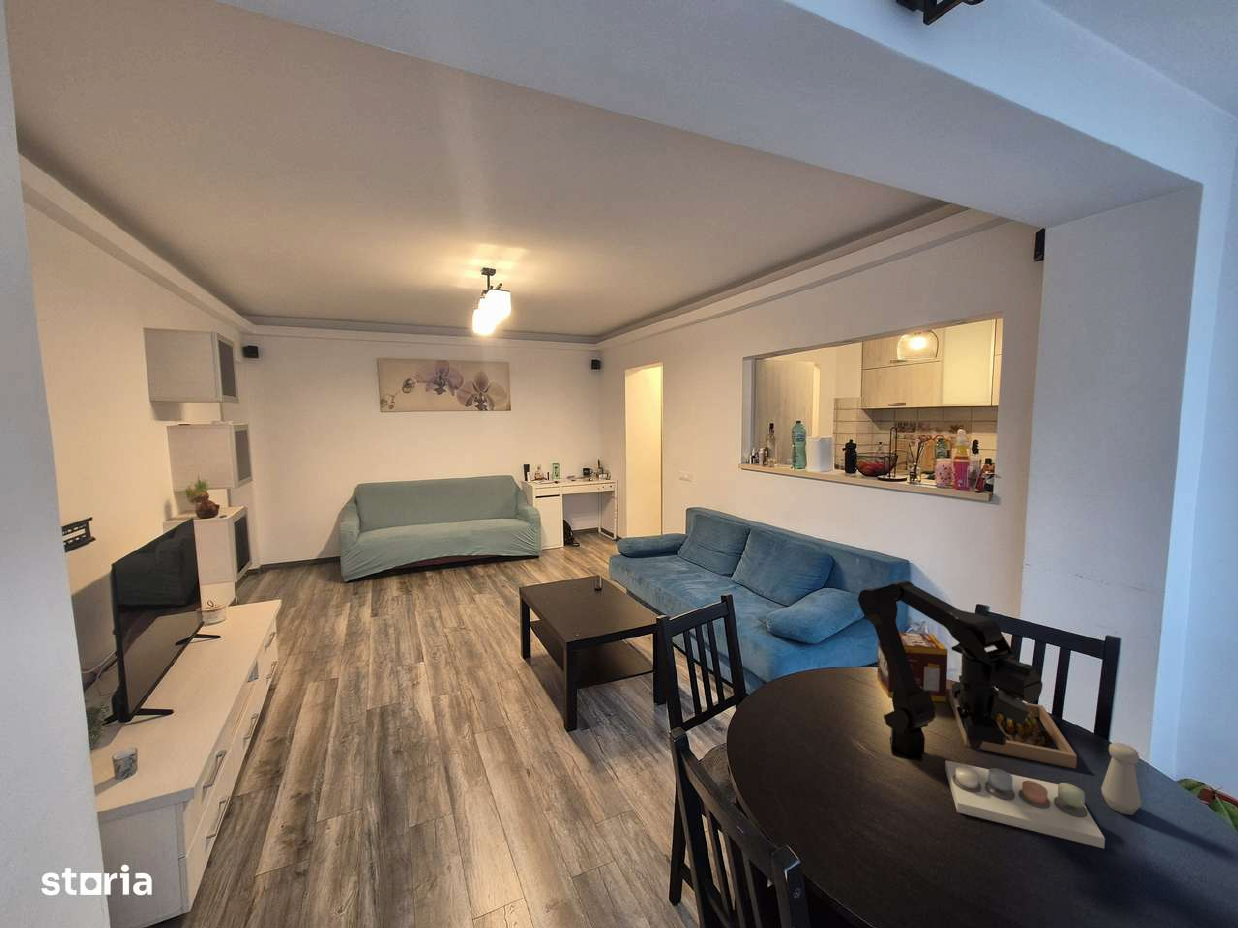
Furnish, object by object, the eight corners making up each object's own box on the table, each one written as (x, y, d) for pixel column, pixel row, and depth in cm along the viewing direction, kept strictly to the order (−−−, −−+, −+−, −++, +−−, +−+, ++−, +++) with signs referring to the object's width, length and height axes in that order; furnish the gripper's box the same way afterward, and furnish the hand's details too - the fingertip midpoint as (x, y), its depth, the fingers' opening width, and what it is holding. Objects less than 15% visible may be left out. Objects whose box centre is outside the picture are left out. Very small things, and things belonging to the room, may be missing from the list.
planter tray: (965, 746, 124) (966, 734, 123) (949, 699, 144) (949, 689, 144) (1076, 768, 115) (1076, 755, 115) (1041, 716, 135) (1042, 705, 135)
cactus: (1063, 735, 127) (1065, 698, 127) (1035, 758, 119) (1038, 719, 118) (986, 703, 142) (987, 670, 141) (956, 721, 134) (957, 686, 133)
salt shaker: (1148, 820, 100) (1153, 758, 99) (1114, 816, 102) (1118, 754, 100) (1125, 798, 106) (1129, 739, 105) (1093, 794, 107) (1097, 736, 106)
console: (957, 811, 103) (957, 800, 103) (945, 768, 116) (945, 758, 116) (1104, 848, 94) (1104, 836, 94) (1073, 796, 107) (1074, 785, 107)
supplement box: (876, 678, 156) (877, 629, 155) (931, 683, 153) (933, 633, 152) (887, 697, 146) (888, 644, 145) (946, 702, 143) (948, 648, 141)
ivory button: (957, 785, 107) (957, 776, 107) (953, 772, 111) (954, 764, 111) (980, 790, 106) (980, 781, 106) (975, 777, 109) (976, 769, 109)
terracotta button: (1025, 800, 103) (1025, 791, 103) (1019, 787, 106) (1019, 778, 106) (1050, 806, 101) (1050, 797, 101) (1043, 792, 105) (1043, 783, 105)
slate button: (990, 787, 105) (991, 778, 105) (986, 774, 109) (986, 766, 108) (1014, 792, 103) (1015, 783, 103) (1008, 779, 107) (1009, 770, 107)
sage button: (1061, 803, 100) (1062, 793, 100) (1054, 789, 104) (1054, 780, 104) (1088, 809, 99) (1088, 799, 98) (1079, 795, 102) (1080, 786, 102)
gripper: (1041, 710, 94) (1037, 789, 95) (1012, 665, 111) (1009, 733, 112) (969, 697, 99) (966, 773, 100) (952, 656, 116) (950, 722, 117)
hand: (975, 749), depth 107 cm, fingers closed
